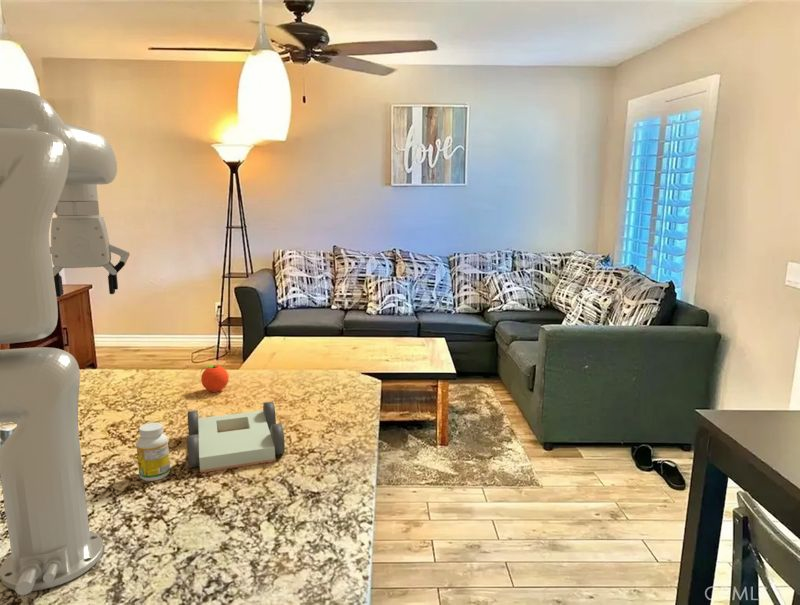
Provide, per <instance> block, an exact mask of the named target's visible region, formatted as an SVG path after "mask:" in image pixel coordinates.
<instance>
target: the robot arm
mask: <svg viewBox="0 0 800 605" xmlns="http://www.w3.org/2000/svg"><path fill="white" fill-rule="evenodd" d="M117 172H118V163H117V158H116V155H115V152H114V150H113V148H112V146H111V144H110V143H109V141H108V140H107V139H106V137H105V136H104V135H102V134H99V133H98V132H96V131H92V130H89V129H88V128H87V129H86V128H83V127H80V126H78V125H74V124H73V123H69V122H65V121H63V119H61V117H60V115H59V114H58V113H57V112H56V111H55V109H54V108H53V106H52V105H51V104H50V102H48V101H47V100H46V99H45V98H43V97H42V96H40V95H38V94H36V93H34V92H31V91H28V90H22V89H17V88H3V87H1V88H0V345H4V344H5V345H6V344H7V345H8V344H17V343H25V342H33V341H38V340H43V339H45V338H47V337H49V336H50V335H52V333H53V332H54V331H55V330H56V328H57V325H58V320H59V319H58V318H59V312H58V311H59V309H58V307H59V306H58V298H60V297H62V296H63V295H64V287H63V279H62V278H63V277H62V276H61V274H60V272H61V271H62V270H63V269H82V268H83V269H84V268H101V267H103V268H104V269H105V270H106V271H107V272H108V275H107V282H108V290H109V291H108V292H109V293H108V294H110V295H114V294H116V290H118V289H119V284H118V282H119V281H118V273H119V272H120V271H121V270H122V269H123V268H124V267H125V266H126V263H127V261H128V260H129V257H130V252H128V251H126V250H124V249H122V248H120V247H117V246H115V245H113V244H110V239H109V238H110V237H109V233H108V230H107V225H106V222H105V219H104V216H101V215H100V207H99V206H100V205H99V196H98V187H97V185H100V186H101V185H108V184H111V183H112V182H113V181H114V180H115V179H116V176H117ZM54 214H55V216H56V217H53V215H54ZM50 245H51V246H50ZM111 254H115V255H117V256H119V257H120V259H119V261H118V263H116V265H114V264H113V263H112V261H111V260H112V255H111ZM80 373H81V372H80V366H79V363H78V361H77V359H76V358H75V356H74V355H73V354H72V353H70V352H68V351H66V350H63V349H60V348H56V347H48V346H46V347H45V346H43V347H41V346H39V347H37V346H36V347H34V346H33V347H24V348H23V347H22V348H11V349H10V348H8V349H7V348H5V349H0V424H7V423H10V424H11V423H14V424H16V426H17V427H15V429H14V430H13V431H12V432H11V433H10V434H9V436H8V437H7V438H6V440H4V442H3V443H2V445H1V448H0V482H1V489H2V497H3V504H4V510H5V517H6V524H7V531H8V539H9V544H10V545H9V546H10V552H11V553H10V554H9V555H8V556H7V557H6V559H4V561H3V562H2V564H1V566H0V581H1V583H2V584H3V585H4V586H5V587H6V588H8V589H10V590H13V591H15V593H16V594H17V595H20V596H25V595H28V594H30V593H31V592H35V591H42V590H46V589H51V588H54V587H57V586H61V585H63V584H66V583H68V582H70V581H72V580H75V579H76V578H78V577H80V576H81V575H83V574H85V573H86V572H88V571H89V570H90V569H91V568H92V567H94V566H95V565H96V564H97V563H98V562H99V560H100V559H101V557H102V555H103V553H104V541H103V539H102V537H101V535H99V534H98V533H96V532H94V531H91V530H90V524H89V515H88V506H87V498H86V497H87V496H86V487H85V481H84V480H85V479H84V478H85V477H84V470H83V468H84V467H83V461H82V452H81V443H80V433H79V432H80V430H79V397H80V396H79V395H80V384H81V379H80V378H81V376H80V375H81V374H80Z"/></svg>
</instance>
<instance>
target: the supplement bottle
mask: <svg viewBox="0 0 800 605" xmlns="http://www.w3.org/2000/svg"><path fill="white" fill-rule="evenodd" d="M138 431H139V432H138V433H139V434H138V435H139V436H140V437H139V438H138V439H137V440H136V454H137V456H136V457H137V464H138V466H137V467H138V474H139V475H138V476H139V478H140V479H141V480H144V482H145V481H146V482H150V481H151V482H153V481H159V480H162V479H164V478H166V477H167V476H168V475H169V474H170V472H171V464H170V453H169V452H170V451H169V439H168V436H167V435H166V434H165V433H163V432H164V426H163V424H162V423H160V422H148V423H144V424H143V425H140V426H139V429H138Z"/></svg>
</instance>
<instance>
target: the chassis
mask: <svg viewBox="0 0 800 605" xmlns="http://www.w3.org/2000/svg"><path fill="white" fill-rule="evenodd" d="M262 404H263V405H262V406H263V407H262V408H263V409H262V410H256V411H255V410H254V411H248V412H247V411H246V412H240V413H239V412H237V413H233V414H232V413H231V414H224V415H223V414H222V415H215V416H207V417H199V410H197V409H196V410H187V430H188V435H186V443H187V444H186V448H187V452H186V453H187V462H188V463H187V464H188V468H195V467H199V472H200V473H207V472H213V471H219V470H221V471H222V470H227V469H235V468H239V466H241V467H247V466H253V464H254V465H258V464H259V463H261V464H266V463H265V462H267V463H272V462H271V461H274V462H276V455H283V454H285V452H286V451H285V449H286V446H285V443H286V442H285V433H284V428H283V424H282V423H277V422H276V421H277V418H276V409H275V403H274V401H266V402H263V403H262ZM246 465H247V466H246Z"/></svg>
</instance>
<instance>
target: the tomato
mask: <svg viewBox="0 0 800 605" xmlns="http://www.w3.org/2000/svg"><path fill="white" fill-rule="evenodd" d="M203 369H204V371H203ZM202 371H203V372H202ZM200 372H202V373H201V377H200V378H201V385H202V386H203V388H204V389H206V390H207V391H209V392H213V393H217V392H221V391H222V390H223V389H225V388H226V386H227V385H228V383H229V379H230V378H229V373H228V371H227V370H226V369H225V367H223V366H220V365H207V366H205V367H203V368H201V370H200Z"/></svg>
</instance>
